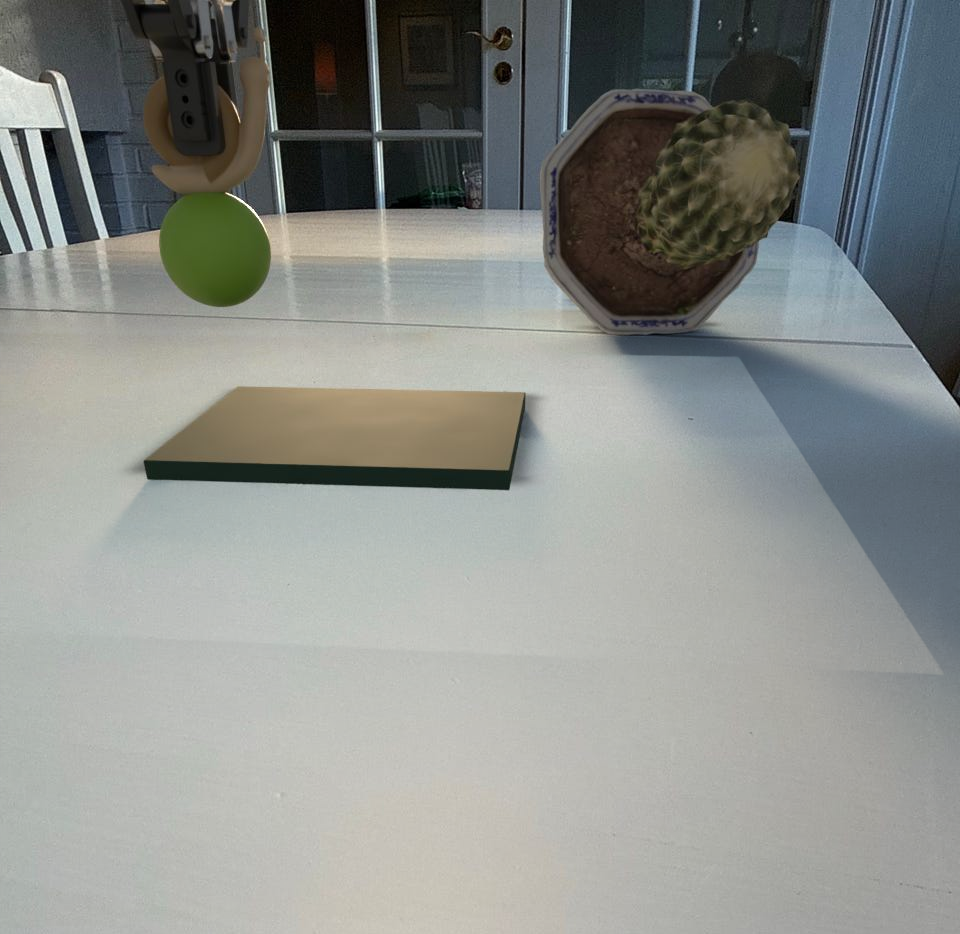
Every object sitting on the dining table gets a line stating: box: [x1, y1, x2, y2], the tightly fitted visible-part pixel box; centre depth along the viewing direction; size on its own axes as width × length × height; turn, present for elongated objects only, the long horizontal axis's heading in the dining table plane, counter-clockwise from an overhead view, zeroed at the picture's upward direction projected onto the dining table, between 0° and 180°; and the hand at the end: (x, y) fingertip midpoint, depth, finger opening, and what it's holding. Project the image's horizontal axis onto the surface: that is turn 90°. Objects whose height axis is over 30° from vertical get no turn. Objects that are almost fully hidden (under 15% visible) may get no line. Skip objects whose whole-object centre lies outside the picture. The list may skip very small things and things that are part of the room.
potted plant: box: [539, 88, 801, 336], centre depth 68 cm, size 18×18×30 cm
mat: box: [143, 386, 527, 491], centre depth 49 cm, size 18×14×1 cm
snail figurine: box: [142, 26, 272, 308], centre depth 44 cm, size 5×6×12 cm
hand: (210, 152), depth 43 cm, fingers closed on snail figurine
